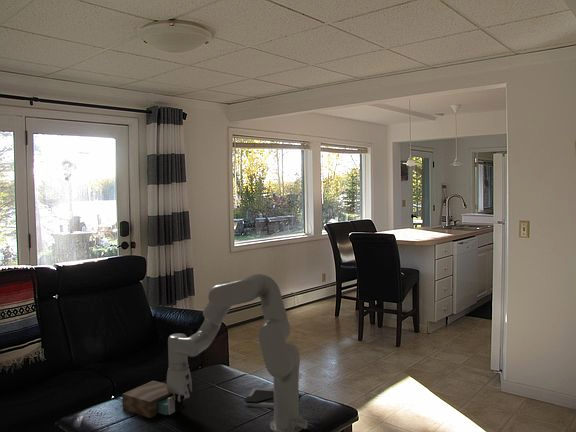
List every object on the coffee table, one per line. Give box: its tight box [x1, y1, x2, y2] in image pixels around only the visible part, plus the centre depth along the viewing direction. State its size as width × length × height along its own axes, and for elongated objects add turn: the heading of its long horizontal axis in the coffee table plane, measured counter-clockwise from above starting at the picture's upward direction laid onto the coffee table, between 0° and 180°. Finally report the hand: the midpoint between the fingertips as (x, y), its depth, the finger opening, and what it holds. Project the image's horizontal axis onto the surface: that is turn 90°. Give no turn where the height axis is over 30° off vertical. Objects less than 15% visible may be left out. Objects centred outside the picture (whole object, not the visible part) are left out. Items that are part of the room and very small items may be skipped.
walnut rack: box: [121, 380, 172, 419], centre depth 205 cm, size 16×17×6 cm
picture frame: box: [243, 387, 274, 409], centre depth 210 cm, size 16×3×21 cm
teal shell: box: [156, 396, 175, 416], centre depth 203 cm, size 15×7×6 cm, turn 59°
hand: (179, 409), depth 197 cm, fingers closed
